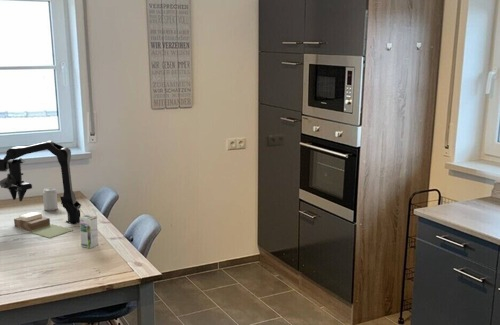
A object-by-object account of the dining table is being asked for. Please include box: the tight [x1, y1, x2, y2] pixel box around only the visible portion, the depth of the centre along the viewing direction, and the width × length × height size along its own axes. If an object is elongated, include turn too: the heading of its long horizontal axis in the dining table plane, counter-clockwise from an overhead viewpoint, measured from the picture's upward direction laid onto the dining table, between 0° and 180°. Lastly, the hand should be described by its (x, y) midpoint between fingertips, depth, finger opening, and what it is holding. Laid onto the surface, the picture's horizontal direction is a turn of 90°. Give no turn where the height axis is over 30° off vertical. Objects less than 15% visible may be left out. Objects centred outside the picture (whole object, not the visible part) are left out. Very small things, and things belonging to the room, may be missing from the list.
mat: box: [28, 223, 74, 239], centre depth 270 cm, size 16×14×1 cm
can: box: [42, 187, 59, 212], centre depth 307 cm, size 8×8×12 cm
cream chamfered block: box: [18, 211, 43, 222], centre depth 277 cm, size 6×9×2 cm, turn 147°
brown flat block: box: [13, 215, 51, 232], centre depth 278 cm, size 14×11×4 cm
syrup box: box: [79, 214, 99, 249], centre depth 249 cm, size 6×6×14 cm
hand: (17, 200), depth 281 cm, fingers open, 5 cm apart
